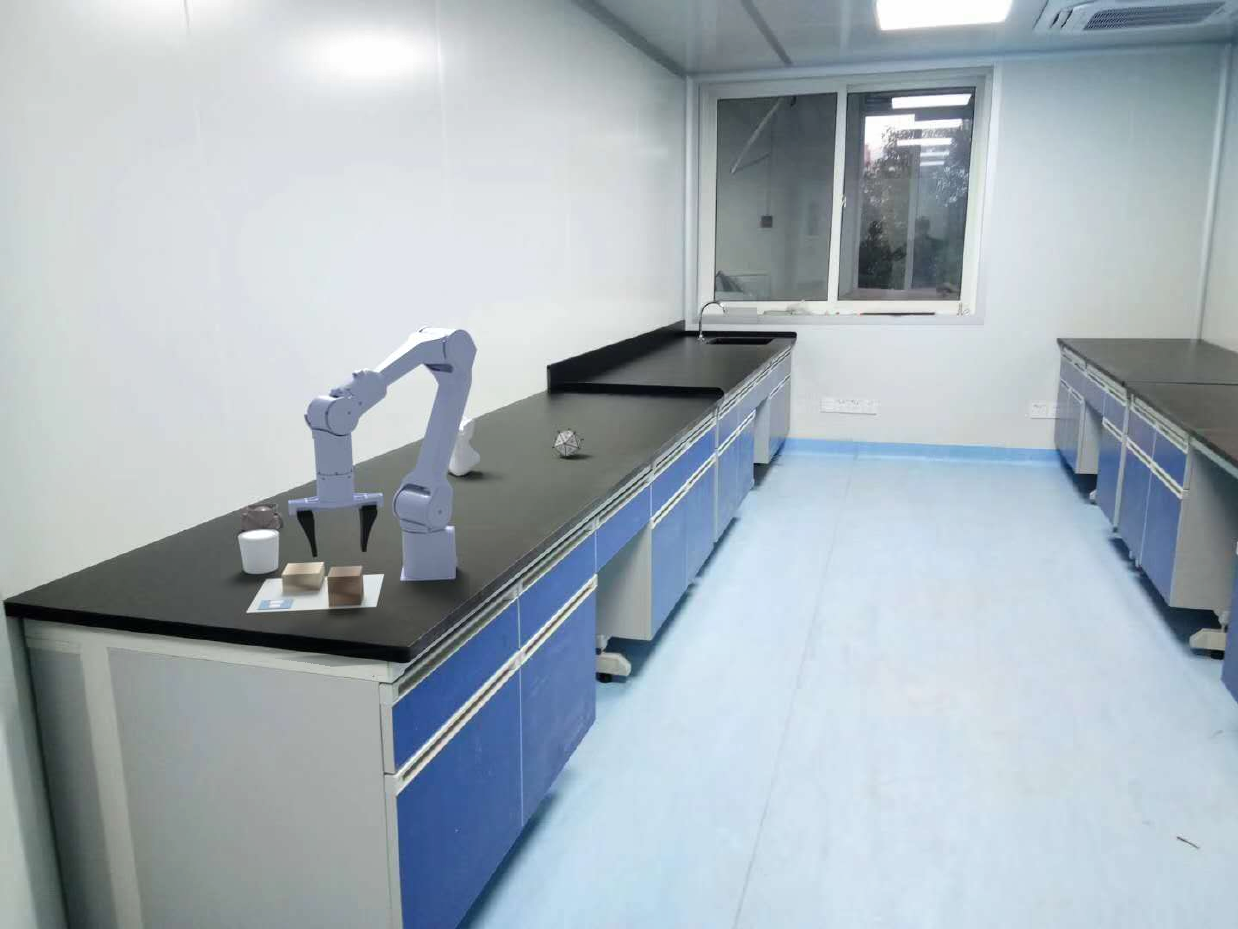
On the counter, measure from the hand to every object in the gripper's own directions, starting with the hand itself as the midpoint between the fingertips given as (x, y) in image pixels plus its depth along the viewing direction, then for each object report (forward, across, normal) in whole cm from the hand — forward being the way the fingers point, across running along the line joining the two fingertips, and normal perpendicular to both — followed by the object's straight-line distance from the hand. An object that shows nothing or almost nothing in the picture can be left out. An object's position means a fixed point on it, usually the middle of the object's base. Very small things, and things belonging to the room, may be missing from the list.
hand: (339, 552), depth 155 cm
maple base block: (+8, +5, -9) cm, 13 cm away
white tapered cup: (+9, +12, -21) cm, 26 cm away
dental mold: (+9, +11, -48) cm, 50 cm away
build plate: (+8, +3, -5) cm, 10 cm away
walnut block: (+8, -1, +1) cm, 8 cm away
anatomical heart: (+9, -38, -84) cm, 92 cm away
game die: (+9, -71, -96) cm, 120 cm away
